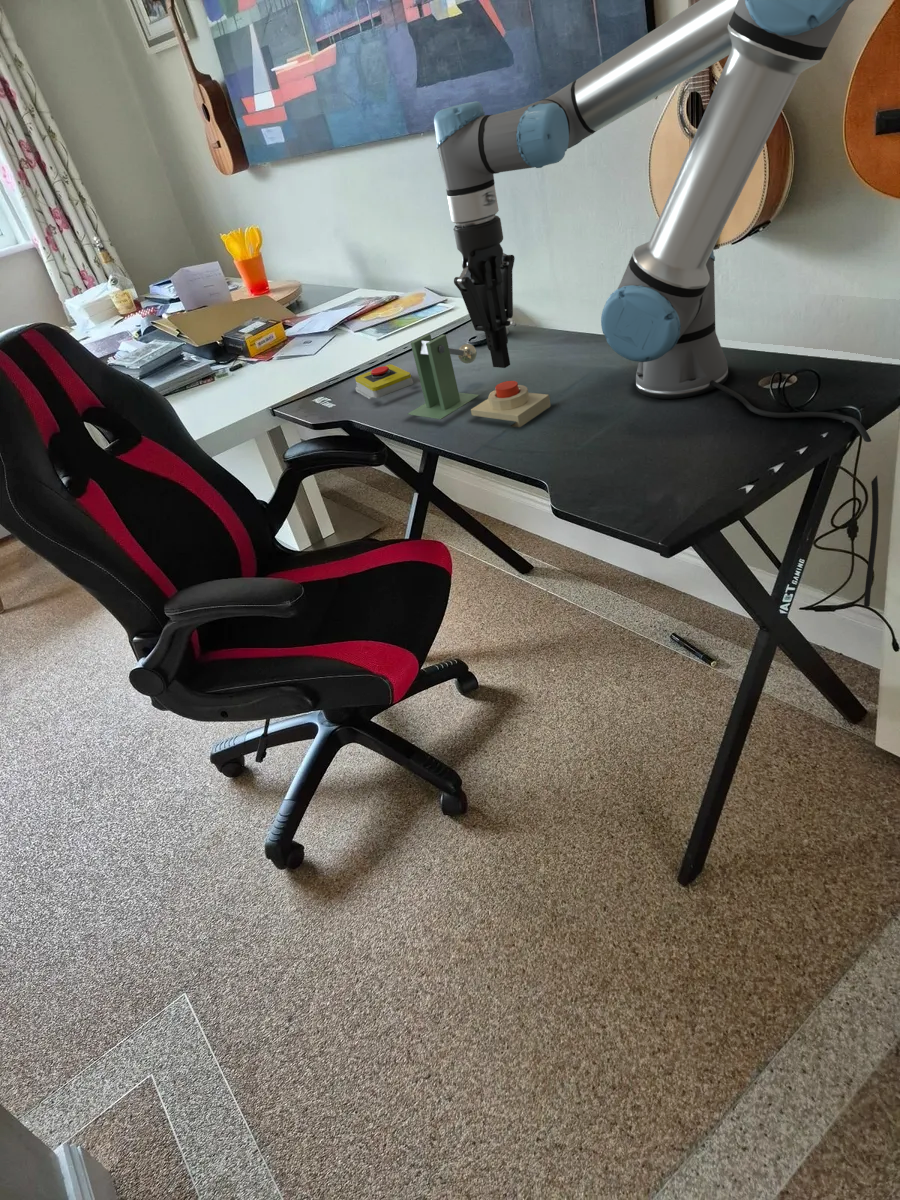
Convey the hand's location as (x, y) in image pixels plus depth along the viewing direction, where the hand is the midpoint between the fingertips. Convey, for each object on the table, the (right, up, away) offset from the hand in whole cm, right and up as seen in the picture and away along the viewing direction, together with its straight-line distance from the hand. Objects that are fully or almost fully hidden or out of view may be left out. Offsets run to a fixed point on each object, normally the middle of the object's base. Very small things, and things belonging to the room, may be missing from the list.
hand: (501, 365), depth 135 cm
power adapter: (+3, +19, +43) cm, 48 cm away
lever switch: (-9, +4, +11) cm, 15 cm away
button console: (+2, -7, +5) cm, 9 cm away
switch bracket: (-10, -4, +13) cm, 17 cm away
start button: (+1, -4, +3) cm, 5 cm away
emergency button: (-22, +4, +30) cm, 38 cm away
